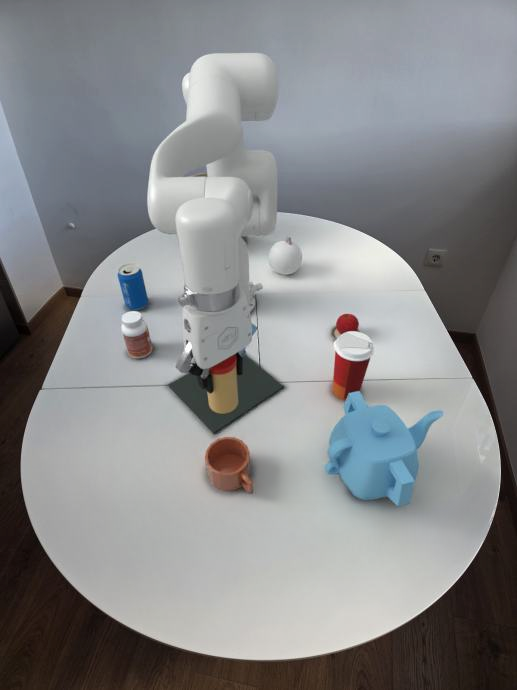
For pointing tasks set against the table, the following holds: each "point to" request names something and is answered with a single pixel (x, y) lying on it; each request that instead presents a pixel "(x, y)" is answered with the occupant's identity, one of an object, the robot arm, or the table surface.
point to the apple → (344, 325)
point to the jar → (224, 386)
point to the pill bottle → (136, 335)
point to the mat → (251, 392)
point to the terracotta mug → (229, 464)
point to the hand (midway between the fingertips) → (221, 378)
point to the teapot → (376, 450)
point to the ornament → (285, 257)
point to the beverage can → (132, 286)
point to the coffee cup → (350, 362)
